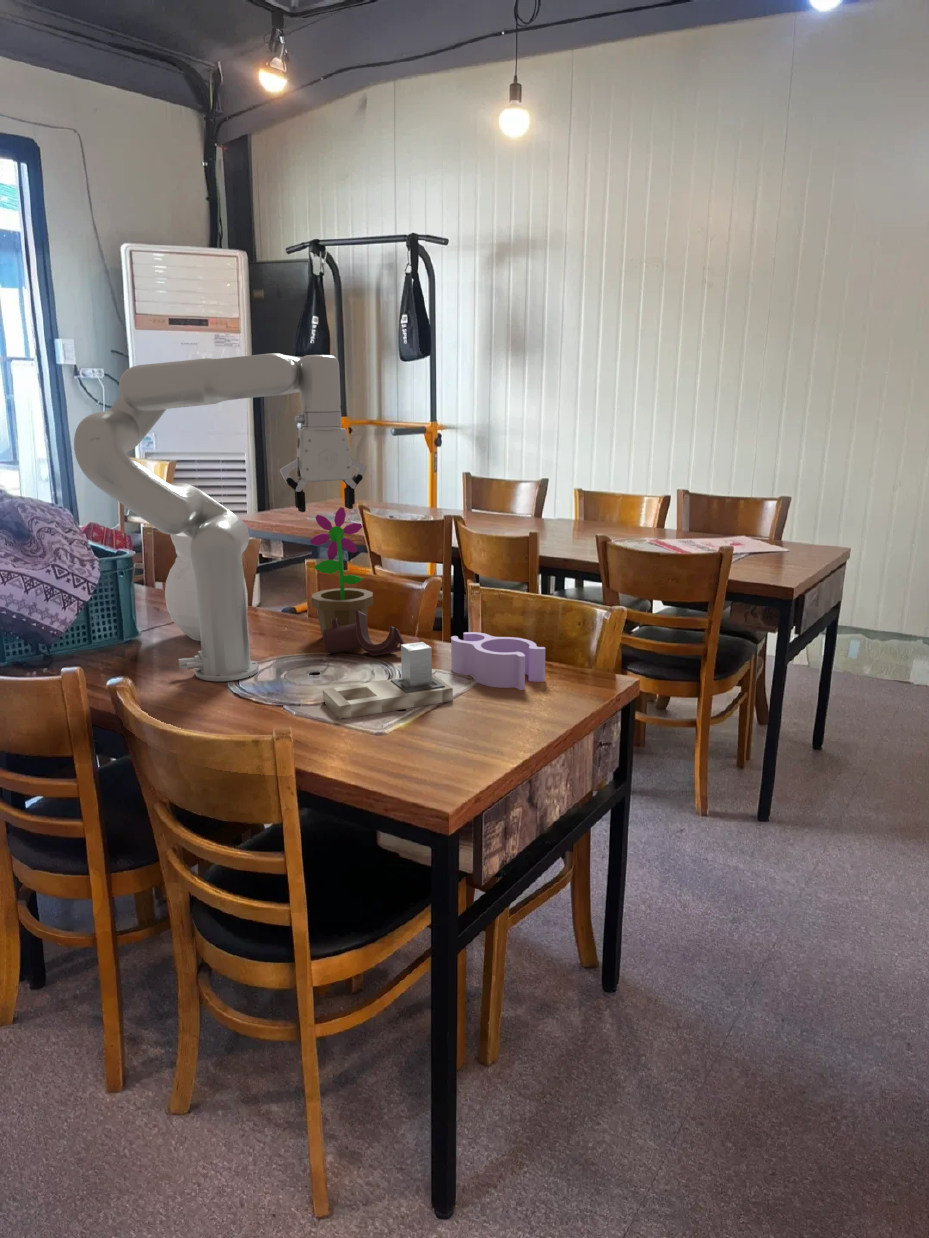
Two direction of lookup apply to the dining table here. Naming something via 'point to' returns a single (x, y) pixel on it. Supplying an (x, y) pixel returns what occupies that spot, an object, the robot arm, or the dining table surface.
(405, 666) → the peg
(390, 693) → the pegboard
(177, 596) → the pitcher
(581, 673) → the dining table surface
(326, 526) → the flowerpot
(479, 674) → the clip
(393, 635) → the bracket
